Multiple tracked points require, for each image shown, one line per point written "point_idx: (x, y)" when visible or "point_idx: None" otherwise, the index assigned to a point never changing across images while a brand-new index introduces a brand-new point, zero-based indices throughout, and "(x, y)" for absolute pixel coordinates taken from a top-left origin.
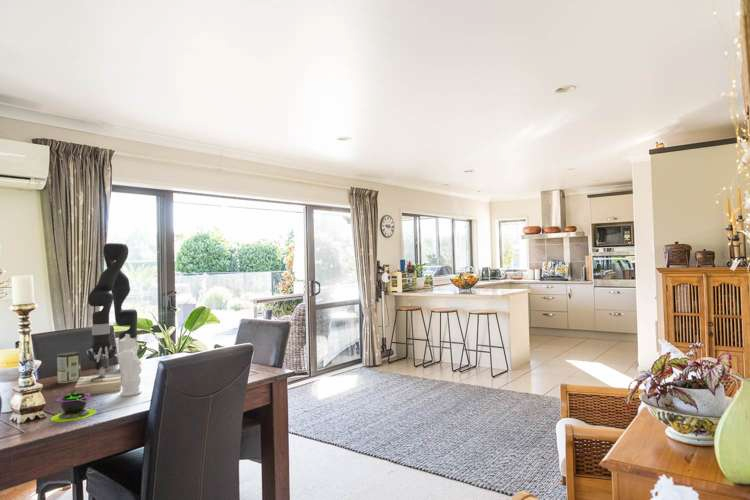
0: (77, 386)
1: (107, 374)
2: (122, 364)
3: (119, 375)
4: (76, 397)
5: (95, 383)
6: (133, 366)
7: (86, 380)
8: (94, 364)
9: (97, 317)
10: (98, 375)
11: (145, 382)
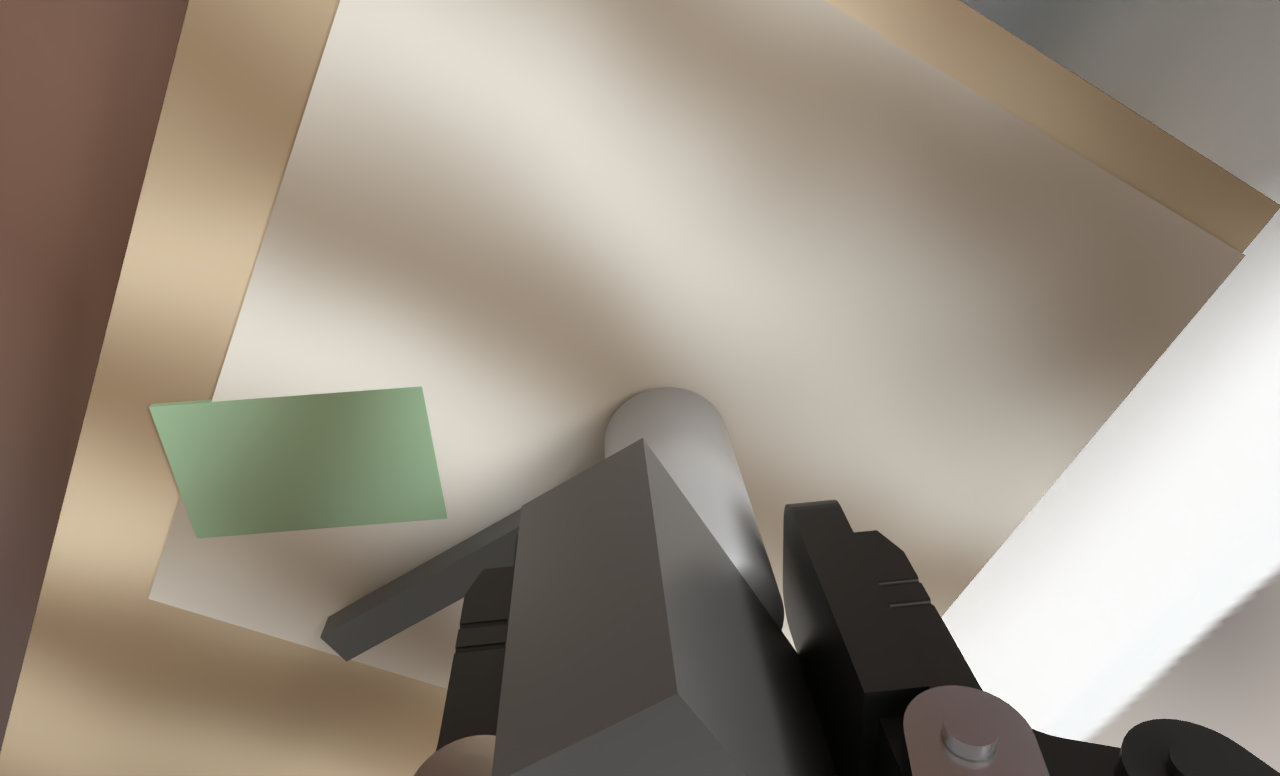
0: (48, 743)
1: (941, 178)
2: None
3: (965, 549)
4: None
5: (366, 772)
6: None
7: (303, 420)
8: (450, 690)
9: None
10: (751, 66)
11: (1112, 680)
